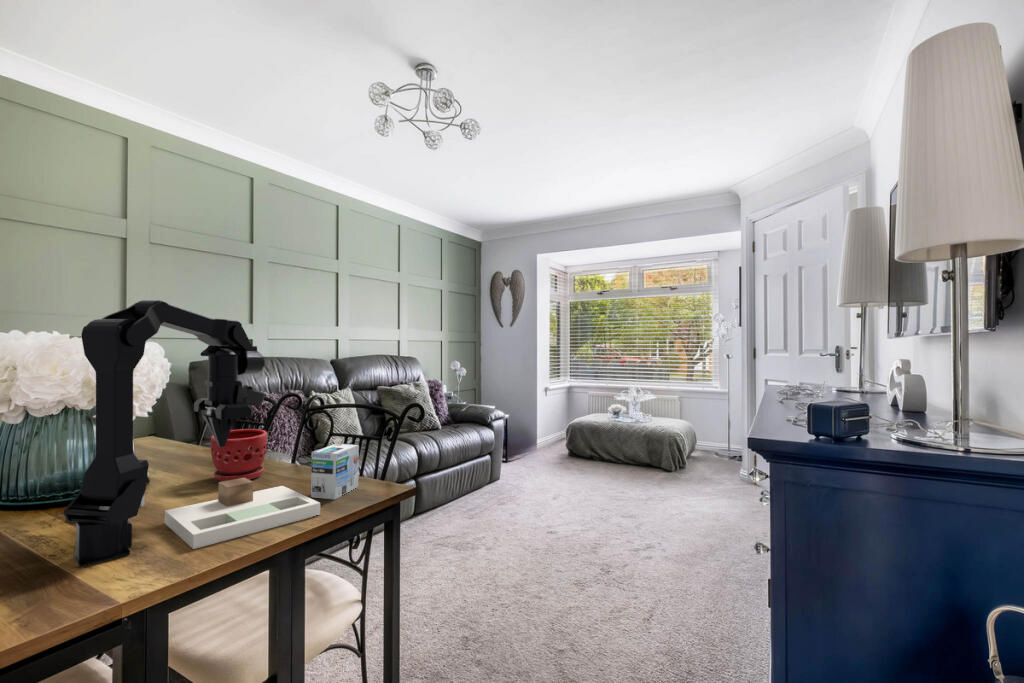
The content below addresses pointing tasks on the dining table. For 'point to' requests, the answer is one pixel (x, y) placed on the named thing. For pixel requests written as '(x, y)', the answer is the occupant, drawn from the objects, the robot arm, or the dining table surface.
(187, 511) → the tray
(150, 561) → the dining table surface
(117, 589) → the dining table surface
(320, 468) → the light bulb box
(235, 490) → the walnut block
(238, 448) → the plant pot
